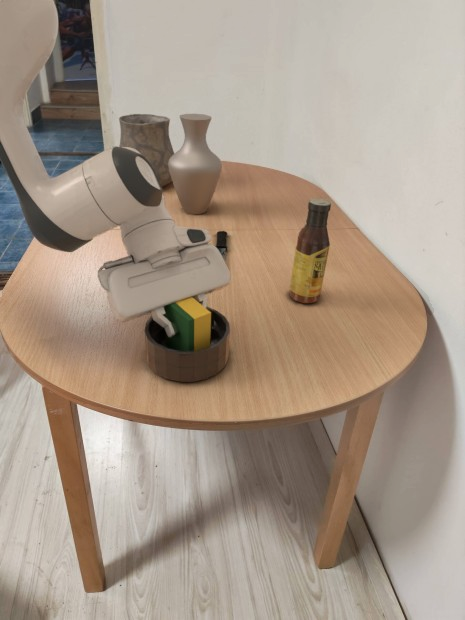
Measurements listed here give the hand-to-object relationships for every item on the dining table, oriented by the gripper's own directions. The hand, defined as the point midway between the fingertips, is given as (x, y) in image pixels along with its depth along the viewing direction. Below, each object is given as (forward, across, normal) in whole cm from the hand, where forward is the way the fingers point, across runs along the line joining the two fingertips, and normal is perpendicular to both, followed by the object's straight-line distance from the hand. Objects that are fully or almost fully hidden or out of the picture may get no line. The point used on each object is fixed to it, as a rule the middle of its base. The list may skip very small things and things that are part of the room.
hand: (189, 329), depth 71 cm
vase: (-35, +37, +43) cm, 67 cm away
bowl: (+4, 0, +4) cm, 6 cm away
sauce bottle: (+2, +30, +7) cm, 31 cm away
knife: (-16, +27, +24) cm, 40 cm away
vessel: (-54, +36, +62) cm, 90 cm away
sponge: (+3, 0, +4) cm, 5 cm away
